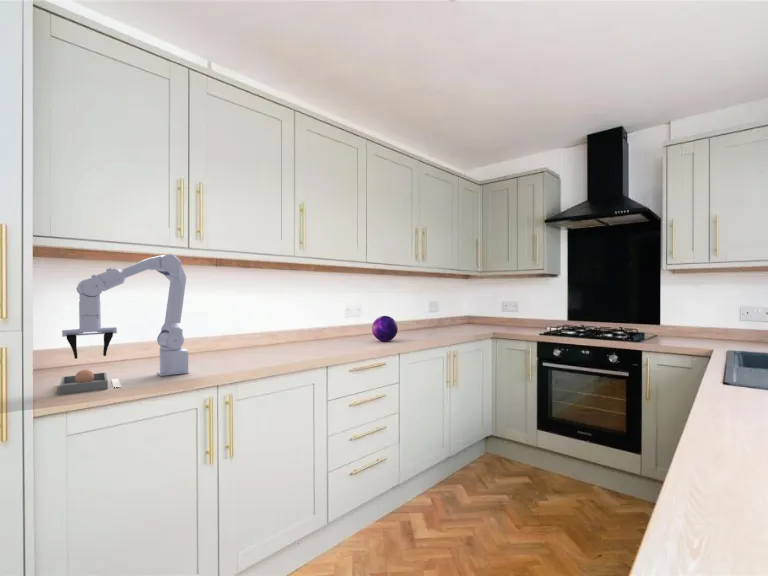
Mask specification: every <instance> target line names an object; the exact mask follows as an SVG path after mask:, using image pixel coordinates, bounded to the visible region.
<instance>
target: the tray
mask: <svg viewBox="0 0 768 576" xmlns="http://www.w3.org/2000/svg"><path fill="white" fill-rule="evenodd" d="M93 374H94V379H93V381H92V382H87V383H78V384H77V383H76V381H75V376H76V375H67V376H61V381H60V383H59V385H58V386H59V395H67V394H77V393H82V392H83V393H85V392H92V391H102V390H108V389H109V388H108V387H109V386H108V385H109V382H108V375H107V372H97V373H93Z"/></svg>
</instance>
